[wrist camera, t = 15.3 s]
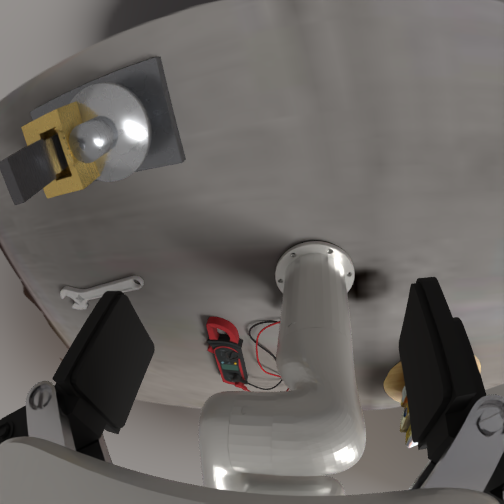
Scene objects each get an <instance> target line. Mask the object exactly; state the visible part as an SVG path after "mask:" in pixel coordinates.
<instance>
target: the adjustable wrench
mask: <svg viewBox="0 0 504 504" xmlns="http://www.w3.org/2000/svg"><path fill="white" fill-rule="evenodd" d="M133 279H134V280H137V281H139V282H140V284H136V283H135V282H134V280H133ZM143 284H144V281H143V279H142V278H141V277H140V276H137V275H134V276H130V277H127V278H123V279H120V280H116V281H113V282H109V283H106V284H102V285H99V286H95V287H92V288H88V289H78V288H74V287H70V286H65V287H64V288H63V289H62V290H61V292H60V295H61V298H62V299H63V298H64V297H65V296H68V297H71V298H72V299H73V300H74V301H75V303H74V304H73V306H72V308H74V309H78V310H80V309H85V310H86V308H87V307H88V305H89V304H87V301H88V300H91V299H95V298H100V297H102V296H103V294H104V293H105V292H106V291H122V292H123V293H124V292H128V291H133V290H138V289H141V288H142V286H143Z"/></svg>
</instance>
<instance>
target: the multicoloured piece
mask: <svg viewBox="0 0 504 504" xmlns="http://www.w3.org/2000/svg"><path fill="white" fill-rule="evenodd" d="M30 114H31V117H32V122H30V123H28V124H26V125H24V126H23V127H21V128H22V131H23V134H24V137H25V140H26V143H27V146H28V145H30V144H31V143H33V142H36V141H38V140H40V139H42V138H43V140H45V139H47V138H49V137H51V136H53V135H55V134H57V133H58V136H59V139H60V142H61V145H62V148H63V151H64V154H65V157H66V160H67V163H68V165H69V166H68V167H67V168H65V169H64V170H62V171H61V172H59V173H58V174H56V179H55V180H53V181H52V182H51V183H49V184H48V185H47V186H45V187H44V188H43V190H44V192H45V194H46V197H47V198H51V197H55V196H59V195H62V194H66V193H70V192H74V191H78V190H82V189H84V188H86V187H87V186H88V185H89V184H91V183H92V182H93V181H97V180H100V181H106V182H113V181H119V180H122V179H124V178H126V177H128V176H129V175H131V174H132V173H133V172H137V171H142V170H147V169H152V168H157V167H162V166H167V165H173V164H178V163H182V162H183V161H184V160H185V159H186V158H185V155H184V151H183V147H182V143H181V139H180V135H179V131H178V128H177V124H176V120H175V116H174V112H173V108H172V104H171V99H170V95H169V91H168V87H167V83H166V79H165V74H164V70H163V66H162V62H161V57H155V58H152V59H149V60H146V61H143V62H140V63H137V64H134V65H131V66H129V67H126V68H123V69H120V70H118V71H115V72H113V73H110V74H108V75H105V76H103V77H100V78H98V79H96V80H93V81H91V82H89V83H86V84H84V85H82V86H80V87H78V88H75V89H73V90H71V91H69V92H67V93H65V94H63V95H61V96H59V97H57V98H55V99H53V100H51V101H49V102H47V103H45V104H43V105H42V106H40V107H38V108H36V109H34V110H32V111H31V112H30Z"/></svg>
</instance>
